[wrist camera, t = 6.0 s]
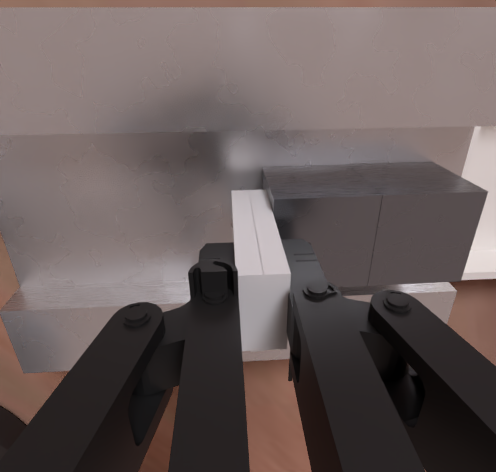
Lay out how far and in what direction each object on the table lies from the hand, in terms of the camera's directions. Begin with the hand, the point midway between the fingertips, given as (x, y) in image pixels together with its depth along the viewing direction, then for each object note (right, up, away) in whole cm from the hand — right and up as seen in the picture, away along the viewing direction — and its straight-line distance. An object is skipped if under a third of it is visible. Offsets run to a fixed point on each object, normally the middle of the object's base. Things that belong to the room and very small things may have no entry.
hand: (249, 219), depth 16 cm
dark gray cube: (+3, +1, +2) cm, 3 cm away
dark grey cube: (+7, +1, +2) cm, 7 cm away
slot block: (-1, +2, +5) cm, 6 cm away
